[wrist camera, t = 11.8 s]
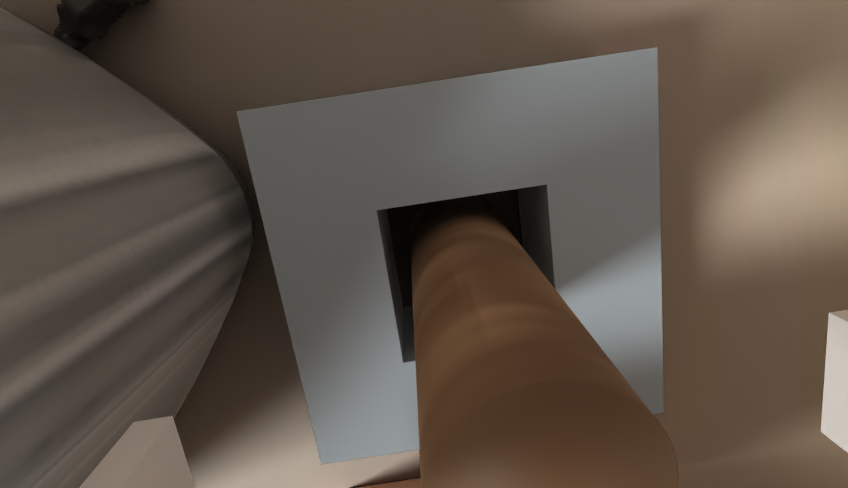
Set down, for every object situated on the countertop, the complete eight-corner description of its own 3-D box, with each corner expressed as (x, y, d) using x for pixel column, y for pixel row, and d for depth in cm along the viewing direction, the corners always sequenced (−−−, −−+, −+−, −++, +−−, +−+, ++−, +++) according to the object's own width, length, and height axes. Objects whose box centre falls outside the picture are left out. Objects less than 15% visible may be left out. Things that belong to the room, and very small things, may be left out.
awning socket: (336, 523, 26) (275, 920, 14) (237, 112, 21) (-26, 143, 8) (647, 477, 26) (875, 832, 14) (635, 52, 21) (1007, -15, 8)
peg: (417, 287, 23) (440, 610, 9) (403, 199, 22) (402, 402, 7) (506, 274, 23) (679, 575, 9) (496, 185, 22) (677, 361, 7)
